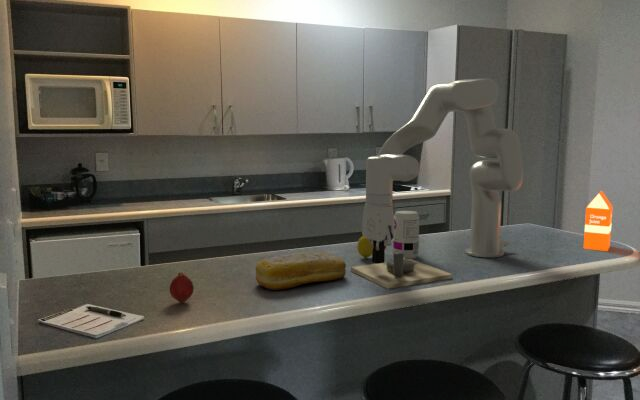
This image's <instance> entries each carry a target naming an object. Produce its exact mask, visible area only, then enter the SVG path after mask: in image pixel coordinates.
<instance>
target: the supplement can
mask: <svg viewBox="0 0 640 400" xmlns="http://www.w3.org/2000/svg"><path fill="white" fill-rule="evenodd" d="M392 240H393V244H392V245H393V246H392V247H393V249H392V250H393V251H392V254H393V256H394V252H402V253H404V258H405V260H406V259H413V260H415V259H416V258H417V257H418V256H419V240H420V216H419V214H418V211H415V210H398V211H397V210H396V211H395V213H394V238H393V239H392Z"/></svg>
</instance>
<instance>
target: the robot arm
mask: <svg viewBox="0 0 640 400" xmlns="http://www.w3.org/2000/svg"><path fill="white" fill-rule="evenodd" d="M498 97H499V86H498V83H497V82H496V81H495V80H493V79H491V78H488V77H486V78H470V79H469V78H468V79H458V80H454V81H451V82H444V83H443V82H442V83H437V84H434V85H432V86H431V87H430V88H429V89H428V90H427V93H426V94H425V96H424V97H423V99H422V101H421V102H420V104H419V106H418V107H417V109H416V110H415V112H414V114H413V116H412V117H411V119H410V120H409V121H408V122H407V123H405V124H404V125H403V126H402V127H400V128H399V129H397V131H395V132H394V133H393V134H392V135H391V136H389V137H388V138H387V139H386V141H385V142H384V143H383V145H382V147H381V148H380V150H379V152H378V153H377V155H373V156H369V157H368V158H366V162H365V170H366V171H365V203H364V207H363V213H362V221H361V222H362V223H361V224H362V225H361V226H362V228H361V233H362V236H364V237H366V238H367V239H368V240H369V241H370V242H371V248H372V255H371V256H372V257H371V258H372V259H371V262H372V264H379V263H384V262H386V260H385V255H386V254H385V252H386V249H387V246H388V247H389V246H392V240H393V238H394V215H395V213H394V207H393V185H394V184H393V182H394V181H398V182H399V181H400V182H409V181H412V180H414V179H416V178H417V177H418V175H419V173H420V171H421V167H420V163H419V160H417V158H416V157H414V156H412V155H408V154H404V153H405V152H406V151H407V150H409V149H411V148H412V147H414V146H417V145H418V144H422V143H425V142H426V141H429V140H430V139H432V138H434V136H436V134H437V132H438V131H439V130H440V128H441V126H442V124H443V122H444V120H445V119H446V118H447V116H448V114H449V113H451V112H452V113H453V112H456V113H457V112H462V113H463V115H464V117H465V120H466V125H467V131H468V139H469V144H470V151H471V153H472V155H474V156H475V157H478V158H483V159H484V158H485V159H484V160H483V159H482V160H478V161H476V162H475V163H473V164H472V165H471V167H470V170H469V182H470V188H471V213H470V214H471V215H470V216H471V217H470V241H469V242H470V244H469V245H470V246H468V247H466V248H465V250H464V251H465V254H466V255H469V256H473V257H478V258H490V259H491V258H492V259H493V258H500V257H503V256H504V255H505V250H503V249H502V248H503V247H509V246H510V245H511V242H510V240H501V222H502V221H501V219H502V199H501V196H500V193H499V192H498V191H501V192H516V191H518V190H519V189H520V188H521V186H522V184H523V180H524V167H523V166H524V165H523V158H522V147H521V141H520V138H519V136H518V134H517V133H516V132H515V131H514V130H512V129H510V128H497V126H496V123H495V122H496V121H495V116H494V112H493V109H492V107H491V106H493V105H494V104H495V102H496V101H497V100H498ZM490 159H491V160H490ZM492 159H498V160H492Z"/></svg>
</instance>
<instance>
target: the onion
mask: <svg viewBox="0 0 640 400" xmlns="http://www.w3.org/2000/svg"><path fill="white" fill-rule="evenodd" d="M193 283H194V282H193V281H192V280H191V279H190V278H189V277H188V276H187V275H185V274H184V273H183V272H182V271H180V272H178V273H177V276H175V277H174V278H173V279H172V280H171V283H170V284H169V293H170V296H171V297H172V298H173V299H174V300H175V301H177V302H178V303H180V304H183V303H185V302H186V301H188V300H189V299H190V298H191V297H192V295H193V293H194V289H195V288H194V284H193Z"/></svg>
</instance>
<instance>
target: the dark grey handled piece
mask: <svg viewBox="0 0 640 400" xmlns="http://www.w3.org/2000/svg"><path fill="white" fill-rule="evenodd" d="M386 262H387V270H389V271H392V272H393V276H395V277H402V276H403V273H406V272H412V271H414V262H412V261H408V260H406V259H405V258H404V253H402V252H394V255H393V259H391V260H388V261H386Z"/></svg>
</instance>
